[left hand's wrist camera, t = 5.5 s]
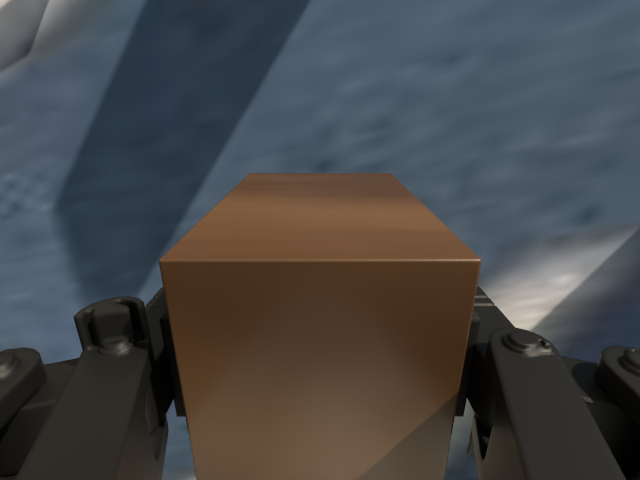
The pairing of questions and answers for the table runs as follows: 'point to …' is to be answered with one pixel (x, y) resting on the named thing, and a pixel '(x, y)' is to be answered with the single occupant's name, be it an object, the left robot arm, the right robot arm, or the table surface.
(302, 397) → the bar
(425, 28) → the table surface
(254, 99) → the table surface
